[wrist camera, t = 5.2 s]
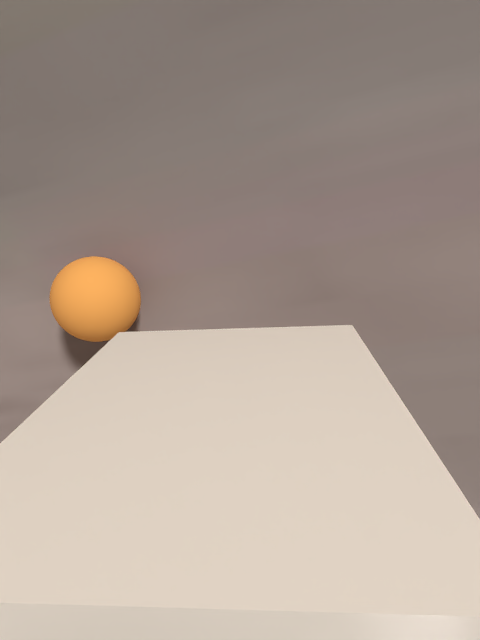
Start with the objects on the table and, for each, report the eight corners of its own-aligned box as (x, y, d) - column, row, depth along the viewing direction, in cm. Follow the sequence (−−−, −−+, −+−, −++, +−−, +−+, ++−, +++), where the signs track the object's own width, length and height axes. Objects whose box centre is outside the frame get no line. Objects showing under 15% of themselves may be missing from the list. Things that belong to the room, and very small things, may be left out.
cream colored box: (344, 514, 13) (451, 949, 5) (148, 512, 13) (4, 904, 6) (352, 324, 11) (544, 617, 3) (118, 332, 11) (-164, 597, 4)
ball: (166, 285, 24) (140, 306, 20) (124, 339, 26) (90, 372, 21) (102, 234, 24) (59, 243, 19) (63, 293, 25) (13, 316, 20)
